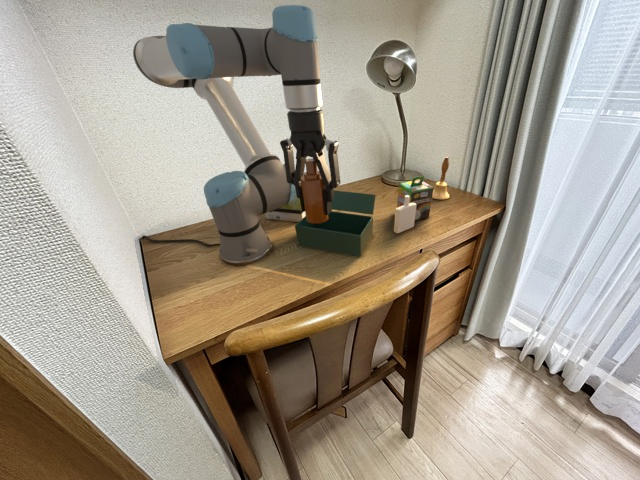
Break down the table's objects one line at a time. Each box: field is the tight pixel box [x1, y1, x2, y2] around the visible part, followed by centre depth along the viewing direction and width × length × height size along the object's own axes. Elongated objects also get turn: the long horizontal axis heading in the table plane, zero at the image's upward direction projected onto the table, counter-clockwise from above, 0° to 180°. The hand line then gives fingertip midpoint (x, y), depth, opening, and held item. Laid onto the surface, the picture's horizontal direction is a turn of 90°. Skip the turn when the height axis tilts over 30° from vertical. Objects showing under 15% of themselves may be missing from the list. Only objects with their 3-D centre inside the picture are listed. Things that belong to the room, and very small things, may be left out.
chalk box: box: [396, 175, 435, 221], centre depth 94 cm, size 9×9×15 cm
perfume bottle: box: [393, 195, 416, 234], centre depth 86 cm, size 8×2×12 cm, turn 124°
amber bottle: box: [300, 157, 329, 224], centre depth 65 cm, size 6×6×15 cm
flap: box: [331, 189, 377, 216], centre depth 85 cm, size 21×6×1 cm
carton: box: [294, 210, 374, 257], centre depth 83 cm, size 21×13×7 cm, turn 70°
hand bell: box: [432, 156, 450, 201], centre depth 107 cm, size 8×8×16 cm
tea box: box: [265, 198, 306, 223], centre depth 97 cm, size 15×10×15 cm, turn 76°
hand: (316, 211), depth 68 cm, fingers closed on amber bottle, 6 cm apart
